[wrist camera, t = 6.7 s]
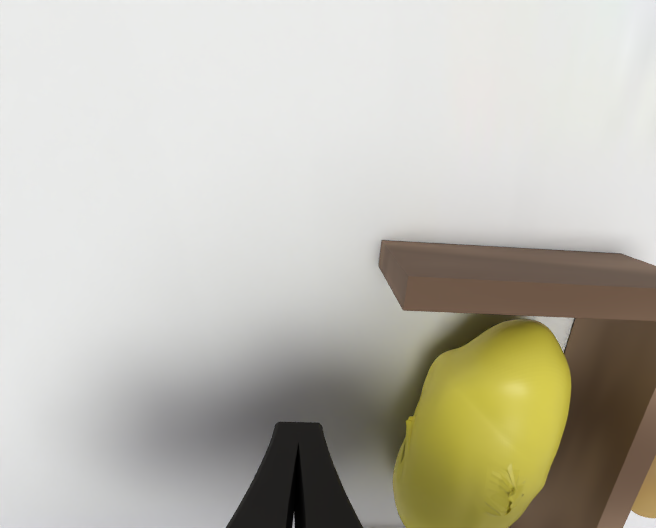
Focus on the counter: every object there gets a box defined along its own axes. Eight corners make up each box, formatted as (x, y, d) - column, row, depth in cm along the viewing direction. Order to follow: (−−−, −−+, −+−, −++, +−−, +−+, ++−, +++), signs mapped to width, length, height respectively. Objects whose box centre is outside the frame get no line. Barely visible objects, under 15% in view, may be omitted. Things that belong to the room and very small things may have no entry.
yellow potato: (352, 463, 13) (369, 586, 10) (456, 275, 11) (528, 340, 8) (450, 491, 14) (501, 615, 10) (566, 319, 12) (682, 399, 8)
